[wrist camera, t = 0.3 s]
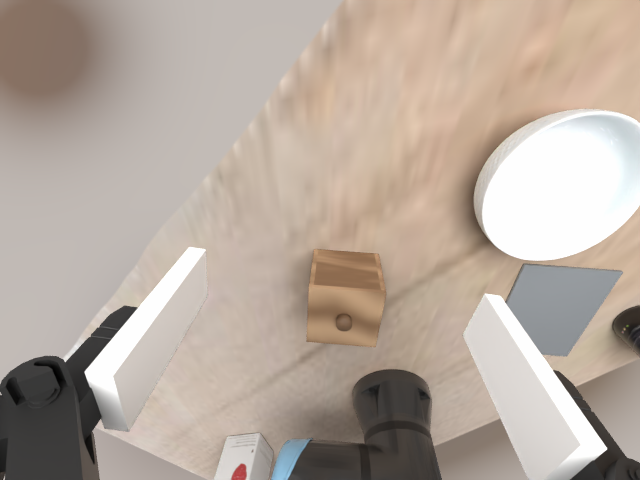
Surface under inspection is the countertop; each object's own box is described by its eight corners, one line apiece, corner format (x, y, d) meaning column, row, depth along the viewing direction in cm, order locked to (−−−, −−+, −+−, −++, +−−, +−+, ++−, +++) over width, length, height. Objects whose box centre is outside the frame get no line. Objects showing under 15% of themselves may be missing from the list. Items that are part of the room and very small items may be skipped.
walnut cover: (369, 303, 50) (376, 354, 42) (311, 298, 51) (305, 348, 42) (378, 253, 46) (387, 299, 37) (314, 249, 46) (307, 293, 37)
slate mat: (565, 354, 54) (566, 356, 53) (484, 348, 54) (485, 349, 54) (620, 270, 45) (623, 272, 44) (523, 263, 45) (524, 264, 45)
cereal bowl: (515, 254, 44) (543, 284, 38) (432, 189, 40) (449, 211, 34) (636, 160, 37) (694, 179, 31) (549, 69, 33) (597, 70, 27)
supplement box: (260, 431, 72) (242, 512, 59) (274, 451, 76) (260, 531, 63) (225, 435, 73) (201, 515, 60) (241, 454, 78) (221, 533, 65)
